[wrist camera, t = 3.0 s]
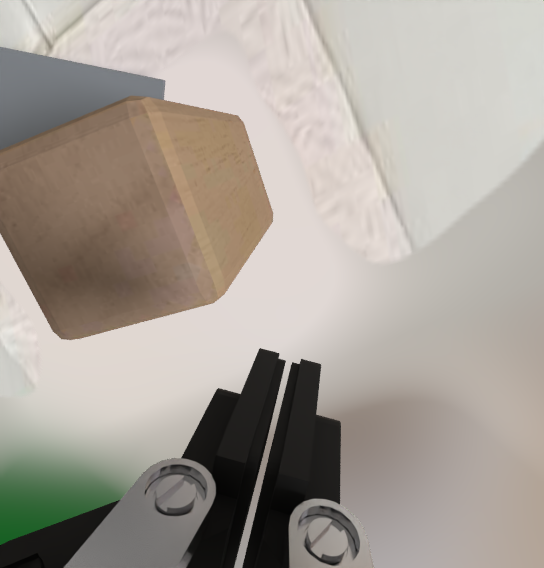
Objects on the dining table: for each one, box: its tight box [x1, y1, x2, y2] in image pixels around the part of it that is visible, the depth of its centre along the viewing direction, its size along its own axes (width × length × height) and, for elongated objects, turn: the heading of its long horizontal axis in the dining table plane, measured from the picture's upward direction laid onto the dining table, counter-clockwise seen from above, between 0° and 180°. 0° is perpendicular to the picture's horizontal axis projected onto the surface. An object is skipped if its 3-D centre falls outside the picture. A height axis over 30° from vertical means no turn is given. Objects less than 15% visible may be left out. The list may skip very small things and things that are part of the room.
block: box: [0, 96, 273, 340], centre depth 28 cm, size 10×10×20 cm
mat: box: [0, 47, 165, 150], centre depth 39 cm, size 20×16×1 cm
